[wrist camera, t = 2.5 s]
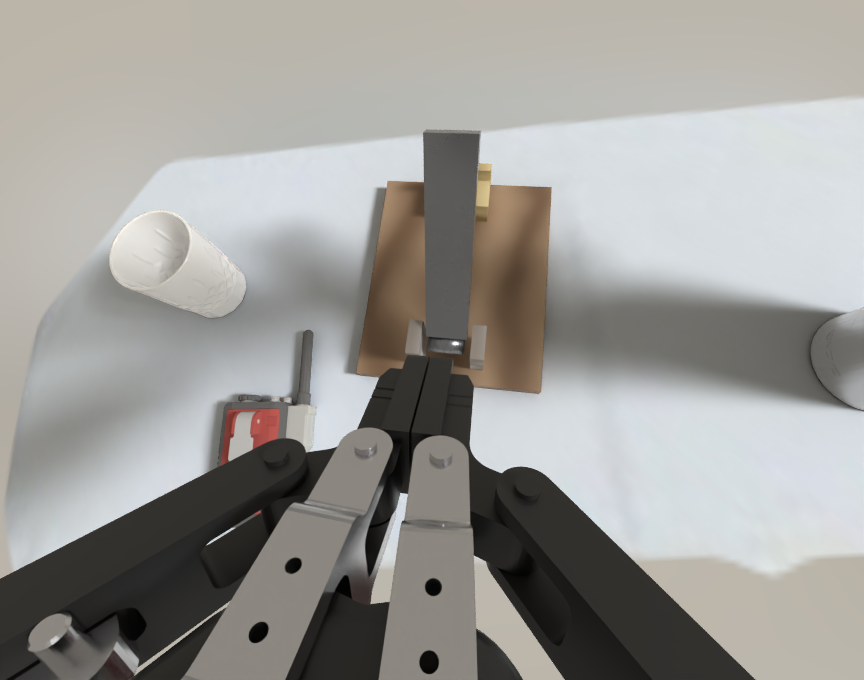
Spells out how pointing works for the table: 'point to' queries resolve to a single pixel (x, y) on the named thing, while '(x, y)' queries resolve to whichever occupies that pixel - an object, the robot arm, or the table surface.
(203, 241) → the white cup
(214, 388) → the table surface
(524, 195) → the latch board
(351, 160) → the table surface
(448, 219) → the strap
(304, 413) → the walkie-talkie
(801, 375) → the table surface
